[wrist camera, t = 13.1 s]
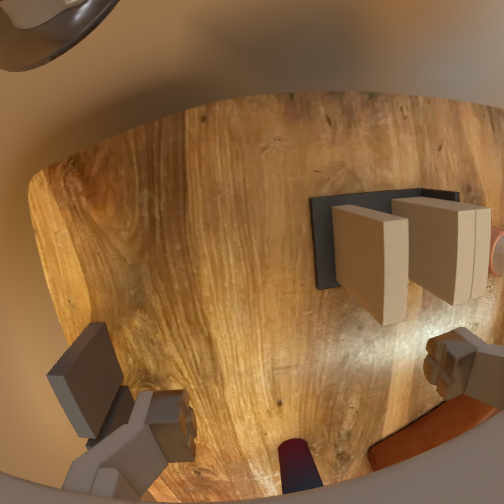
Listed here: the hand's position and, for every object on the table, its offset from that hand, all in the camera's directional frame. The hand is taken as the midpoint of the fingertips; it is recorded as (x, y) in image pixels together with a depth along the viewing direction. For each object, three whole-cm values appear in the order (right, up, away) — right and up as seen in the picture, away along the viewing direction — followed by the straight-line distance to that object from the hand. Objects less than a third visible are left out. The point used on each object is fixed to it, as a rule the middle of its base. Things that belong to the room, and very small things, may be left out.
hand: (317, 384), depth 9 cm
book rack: (+13, +6, +28) cm, 32 cm away
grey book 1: (-22, -10, +29) cm, 38 cm away
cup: (+5, -29, +36) cm, 46 cm away
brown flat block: (+9, +5, +27) cm, 29 cm away
